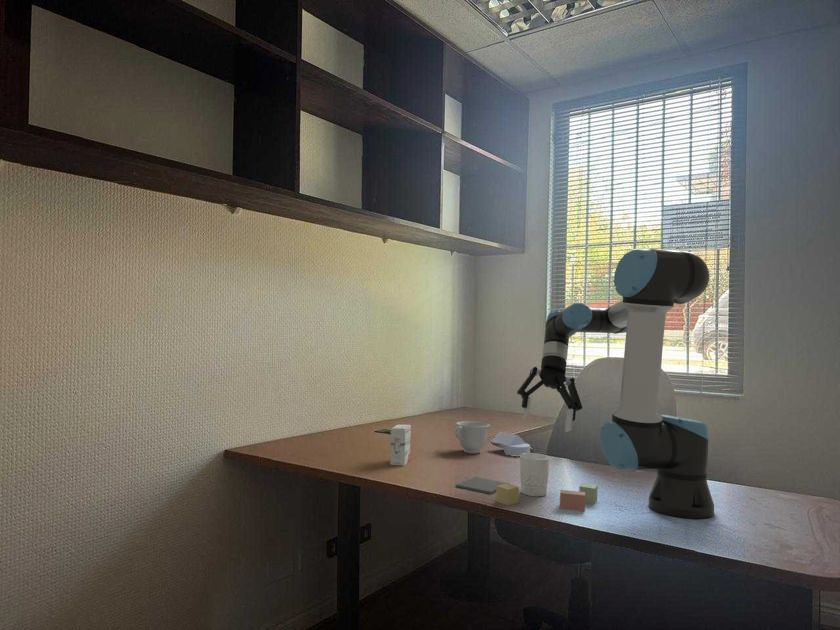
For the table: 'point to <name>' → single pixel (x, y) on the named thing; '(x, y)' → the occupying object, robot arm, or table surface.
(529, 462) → the white cup
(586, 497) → the sage block
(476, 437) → the teacup
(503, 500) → the mustard block
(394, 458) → the ink box
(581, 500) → the brick-red long block
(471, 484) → the slate coaster
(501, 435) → the wedge on round base
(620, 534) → the table surface
